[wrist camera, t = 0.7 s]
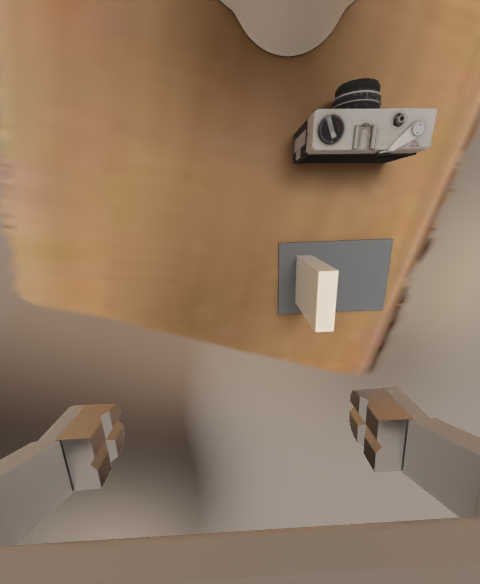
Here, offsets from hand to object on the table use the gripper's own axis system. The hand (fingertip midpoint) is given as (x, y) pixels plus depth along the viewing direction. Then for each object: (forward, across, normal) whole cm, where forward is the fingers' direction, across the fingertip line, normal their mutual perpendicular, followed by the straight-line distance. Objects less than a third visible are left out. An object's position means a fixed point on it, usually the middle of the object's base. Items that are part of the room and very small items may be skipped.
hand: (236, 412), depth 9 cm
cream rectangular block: (+34, -11, +2) cm, 36 cm away
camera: (+33, -16, -18) cm, 41 cm away
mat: (+34, -16, +2) cm, 38 cm away
